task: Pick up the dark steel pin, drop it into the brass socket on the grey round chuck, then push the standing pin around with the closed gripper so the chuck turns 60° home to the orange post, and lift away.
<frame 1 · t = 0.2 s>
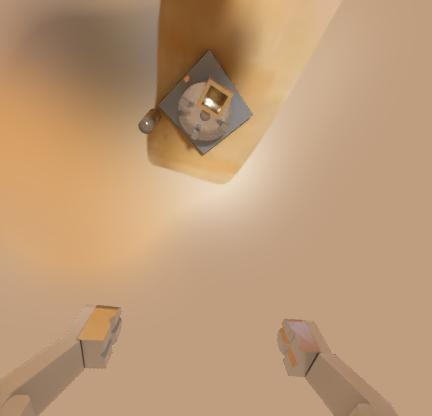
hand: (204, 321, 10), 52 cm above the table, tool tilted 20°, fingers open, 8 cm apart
steel pin: (154, 114, 53), on the table
grey round chuck: (206, 113, 47), point 5 cm above the table, hinge at 0.0°
nut base: (206, 108, 51), on the table
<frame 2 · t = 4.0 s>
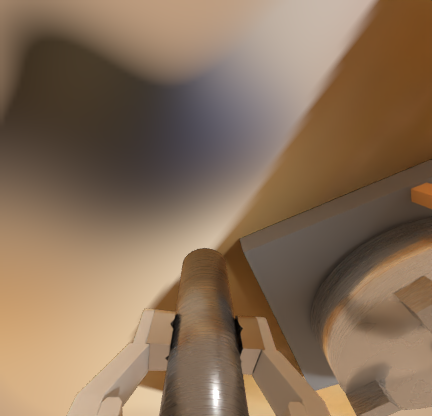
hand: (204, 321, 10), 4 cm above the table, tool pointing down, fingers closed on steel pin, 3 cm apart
steel pin: (204, 266, 14), on the table, touching gripper
nut base: (383, 281, 15), on the table
when the fingers open (9 cm above the table, at t = 10.5 s): steel pin stays where it is, resting on grey round chuck.
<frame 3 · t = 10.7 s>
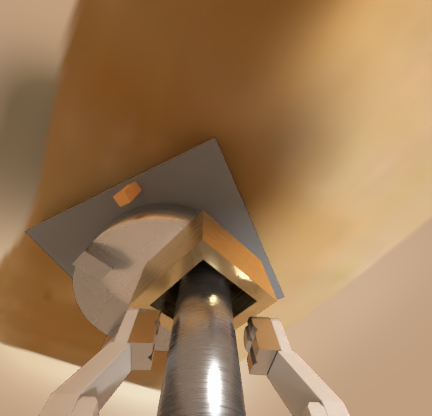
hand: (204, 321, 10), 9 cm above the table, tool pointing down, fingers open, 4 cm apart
steel pin: (204, 262, 14), point 5 cm above the table, touching grey round chuck
grey round chuck: (166, 296, 15), point 5 cm above the table, hinge at 0.0°, touching steel pin
nut base: (172, 257, 20), on the table
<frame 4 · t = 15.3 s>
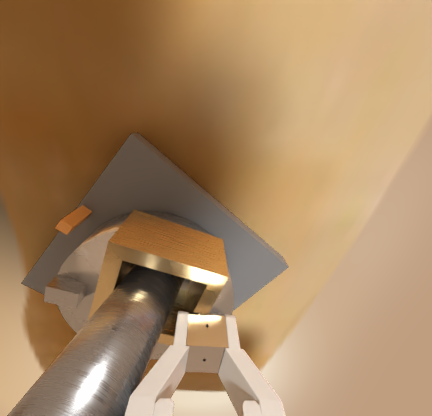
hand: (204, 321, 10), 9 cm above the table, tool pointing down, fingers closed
steel pin: (166, 263, 13), point 5 cm above the table, tilted 11°, touching gripper, grey round chuck
grey round chuck: (149, 304, 15), point 5 cm above the table, hinge at 0.0°, touching steel pin
nut base: (161, 264, 19), on the table
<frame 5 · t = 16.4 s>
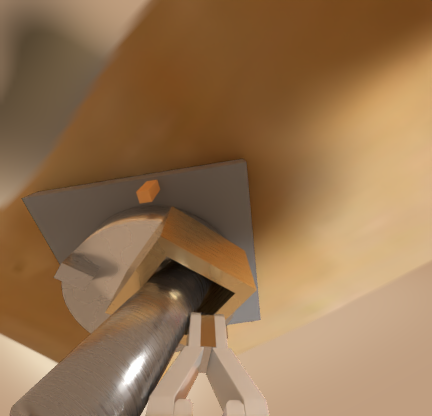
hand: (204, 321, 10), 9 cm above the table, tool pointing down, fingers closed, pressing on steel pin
steel pin: (193, 269, 13), point 5 cm above the table, tilted 22°, touching gripper, grey round chuck
grey round chuck: (155, 298, 15), point 5 cm above the table, hinge at 25.0°, touching steel pin
nut base: (165, 259, 20), on the table
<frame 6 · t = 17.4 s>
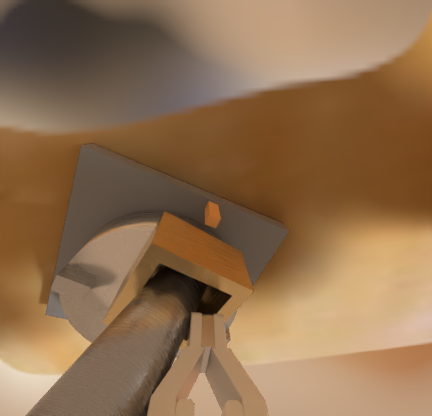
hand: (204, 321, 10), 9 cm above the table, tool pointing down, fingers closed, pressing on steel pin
steel pin: (190, 269, 13), point 5 cm above the table, tilted 19°, touching gripper, grey round chuck
grey round chuck: (155, 304, 15), point 5 cm above the table, hinge at 61.8°, touching steel pin
nut base: (164, 264, 19), on the table
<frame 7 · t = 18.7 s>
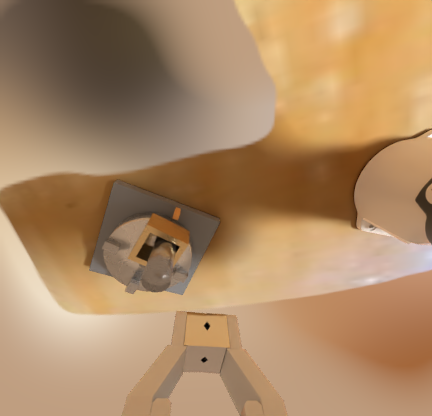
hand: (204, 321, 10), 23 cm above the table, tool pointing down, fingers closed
steel pin: (167, 236, 29), point 5 cm above the table, touching grey round chuck
grey round chuck: (149, 258, 30), point 5 cm above the table, hinge at 61.7°, touching steel pin
nut base: (154, 241, 35), on the table
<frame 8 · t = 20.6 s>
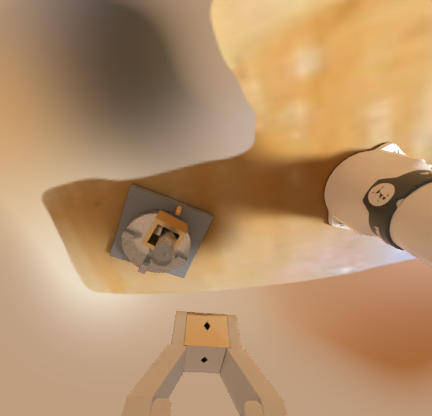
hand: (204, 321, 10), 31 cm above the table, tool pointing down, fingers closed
steel pin: (171, 228, 37), point 5 cm above the table, touching grey round chuck
grey round chuck: (157, 245, 38), point 5 cm above the table, hinge at 61.7°, touching steel pin
nut base: (161, 233, 43), on the table
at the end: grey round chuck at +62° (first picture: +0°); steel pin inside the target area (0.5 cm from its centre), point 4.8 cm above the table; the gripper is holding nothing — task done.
